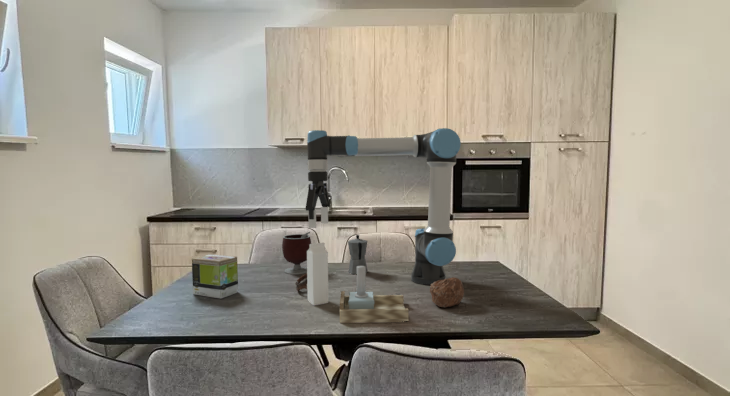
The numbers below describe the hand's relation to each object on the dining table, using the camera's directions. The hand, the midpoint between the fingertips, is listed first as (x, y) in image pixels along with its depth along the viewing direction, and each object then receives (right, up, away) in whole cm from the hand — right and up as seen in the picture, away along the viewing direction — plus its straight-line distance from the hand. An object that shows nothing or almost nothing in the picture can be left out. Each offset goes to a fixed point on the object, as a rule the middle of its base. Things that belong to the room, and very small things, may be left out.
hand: (318, 225), depth 153 cm
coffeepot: (+15, -25, +33) cm, 44 cm away
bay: (+21, -28, -19) cm, 40 cm away
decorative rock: (+48, -28, -12) cm, 57 cm away
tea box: (-42, -28, +3) cm, 50 cm away
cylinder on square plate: (+17, -27, -21) cm, 38 cm away
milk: (+1, -28, -8) cm, 29 cm away
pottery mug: (-4, -27, +6) cm, 28 cm away
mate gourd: (-14, -25, +37) cm, 47 cm away
